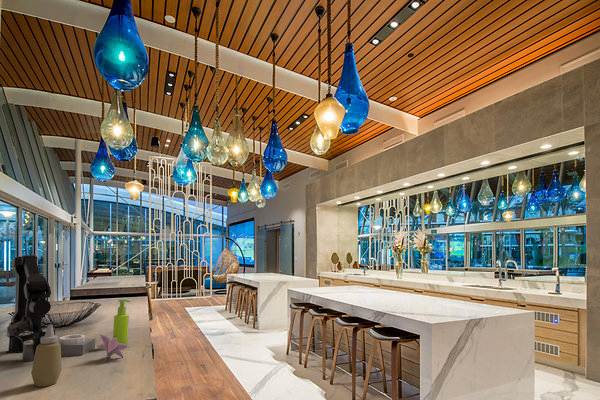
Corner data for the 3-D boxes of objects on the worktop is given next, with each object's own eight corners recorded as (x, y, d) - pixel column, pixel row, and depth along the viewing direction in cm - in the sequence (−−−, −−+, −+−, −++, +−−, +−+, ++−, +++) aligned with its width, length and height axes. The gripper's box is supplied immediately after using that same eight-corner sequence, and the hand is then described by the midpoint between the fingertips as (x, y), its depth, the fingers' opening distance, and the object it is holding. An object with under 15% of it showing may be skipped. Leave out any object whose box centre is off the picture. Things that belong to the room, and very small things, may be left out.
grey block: (19, 361, 148) (20, 342, 149) (27, 358, 153) (28, 339, 154) (33, 361, 149) (35, 341, 150) (41, 357, 154) (42, 338, 155)
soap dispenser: (123, 348, 169) (126, 300, 171) (109, 347, 170) (112, 300, 173) (132, 345, 174) (134, 299, 177) (118, 344, 176) (120, 298, 178)
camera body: (45, 356, 156) (47, 340, 157) (61, 348, 168) (62, 334, 169) (82, 355, 158) (83, 339, 158) (95, 347, 169) (96, 333, 170)
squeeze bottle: (39, 380, 127) (44, 323, 129) (65, 379, 128) (69, 322, 130) (24, 389, 119) (29, 327, 121) (52, 388, 120) (56, 327, 122)
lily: (130, 363, 149) (136, 338, 155) (102, 357, 142) (109, 330, 147) (111, 369, 155) (117, 344, 161) (83, 363, 147) (90, 337, 153)
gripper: (-3, 314, 150) (-7, 356, 148) (27, 317, 142) (24, 362, 140) (27, 310, 160) (24, 350, 158) (57, 313, 152) (54, 355, 150)
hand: (30, 354), depth 151 cm, fingers closed on grey block, 5 cm apart
